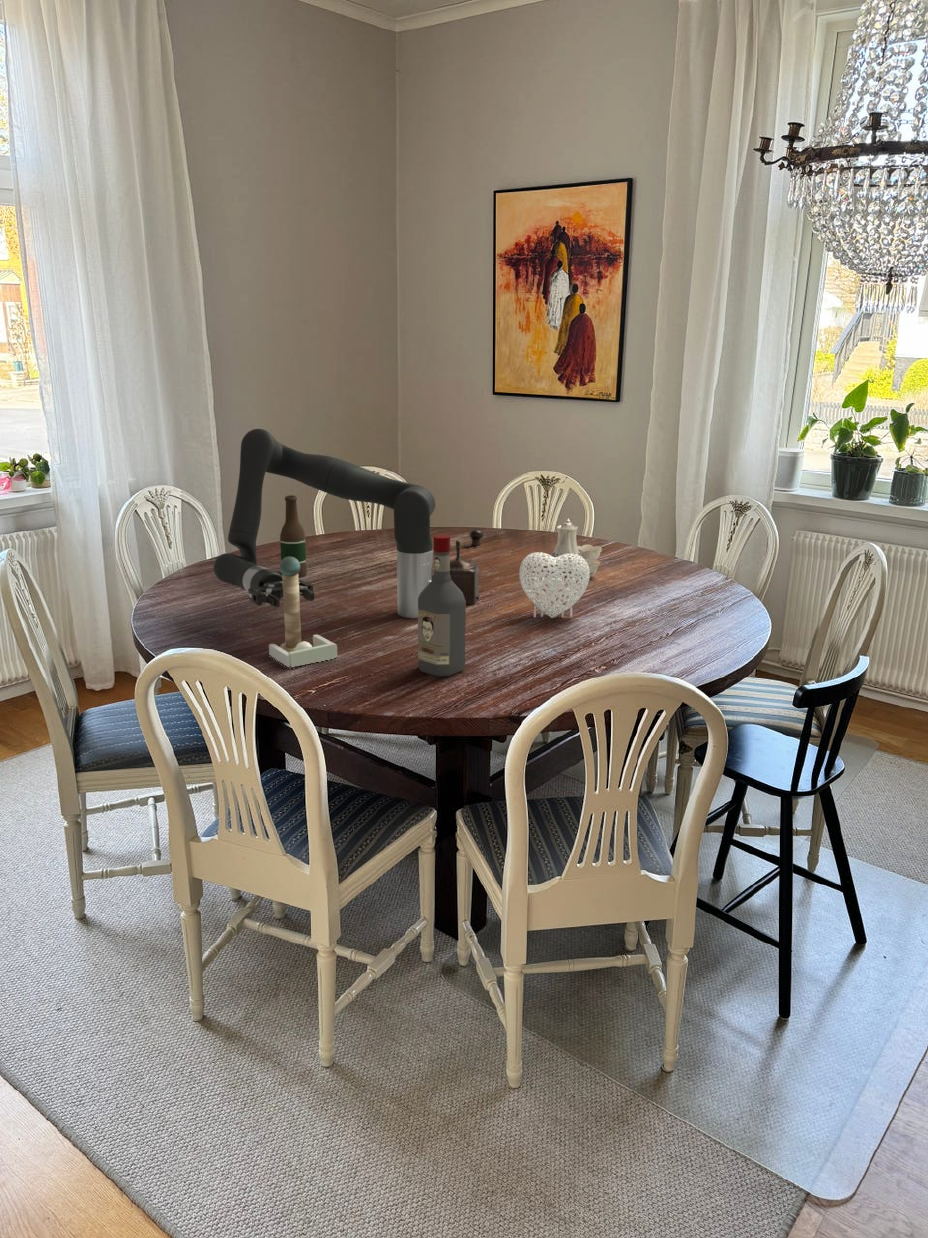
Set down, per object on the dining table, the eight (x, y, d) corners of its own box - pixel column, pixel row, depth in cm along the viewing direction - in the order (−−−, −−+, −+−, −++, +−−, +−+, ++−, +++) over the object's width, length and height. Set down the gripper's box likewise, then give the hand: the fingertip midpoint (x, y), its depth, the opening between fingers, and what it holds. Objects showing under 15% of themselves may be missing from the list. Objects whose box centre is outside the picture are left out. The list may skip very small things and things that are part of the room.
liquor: (439, 658, 214) (439, 529, 204) (470, 668, 208) (472, 536, 199) (412, 669, 207) (411, 536, 198) (443, 679, 201) (444, 543, 192)
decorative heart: (516, 621, 240) (518, 556, 235) (519, 609, 250) (521, 547, 245) (587, 625, 238) (590, 559, 233) (587, 612, 248) (590, 549, 243)
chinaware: (603, 588, 277) (612, 533, 272) (547, 580, 278) (555, 526, 273) (597, 564, 304) (606, 514, 299) (546, 558, 305) (554, 507, 299)
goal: (269, 656, 214) (268, 642, 213) (317, 646, 221) (317, 632, 220) (289, 669, 206) (288, 654, 205) (338, 658, 213) (338, 643, 212)
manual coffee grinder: (476, 605, 254) (477, 540, 248) (436, 603, 255) (436, 538, 250) (483, 589, 268) (484, 528, 263) (445, 588, 270) (445, 526, 264)
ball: (319, 652, 213) (311, 644, 215) (309, 643, 210) (301, 635, 213) (306, 665, 212) (298, 657, 215) (296, 655, 209) (288, 647, 212)
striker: (309, 647, 220) (305, 553, 213) (303, 656, 214) (299, 560, 207) (284, 646, 220) (279, 553, 213) (277, 655, 215) (272, 559, 208)
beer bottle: (311, 573, 284) (308, 494, 276) (300, 579, 277) (297, 499, 269) (288, 571, 286) (284, 492, 278) (276, 577, 279) (272, 497, 271)
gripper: (235, 573, 219) (265, 588, 207) (290, 564, 227) (322, 579, 215) (237, 603, 221) (267, 621, 209) (291, 594, 229) (324, 610, 217)
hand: (295, 599), depth 212 cm, fingers open, 8 cm apart
